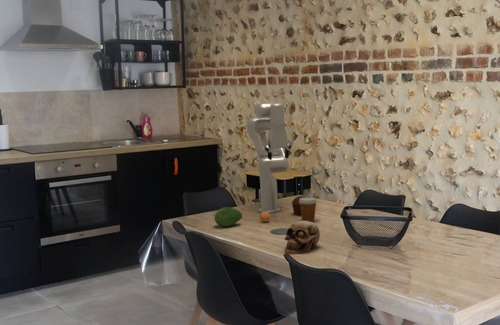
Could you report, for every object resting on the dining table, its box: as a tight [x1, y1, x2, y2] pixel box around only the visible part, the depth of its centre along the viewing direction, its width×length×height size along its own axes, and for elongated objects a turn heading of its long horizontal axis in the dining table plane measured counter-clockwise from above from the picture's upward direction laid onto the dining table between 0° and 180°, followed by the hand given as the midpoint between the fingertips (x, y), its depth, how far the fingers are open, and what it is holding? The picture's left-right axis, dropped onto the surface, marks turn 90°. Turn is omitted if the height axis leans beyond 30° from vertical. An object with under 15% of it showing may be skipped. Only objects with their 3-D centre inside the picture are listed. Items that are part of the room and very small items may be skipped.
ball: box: [259, 212, 271, 223], centre depth 336 cm, size 6×6×6 cm
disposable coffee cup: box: [299, 196, 318, 223], centre depth 334 cm, size 10×10×12 cm
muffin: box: [291, 195, 306, 217], centre depth 351 cm, size 12×11×10 cm
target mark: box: [269, 227, 289, 236], centre depth 314 cm, size 12×12×1 cm
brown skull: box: [284, 220, 321, 255], centre depth 281 cm, size 16×17×13 cm
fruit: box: [214, 206, 243, 228], centre depth 330 cm, size 15×10×10 cm, turn 115°
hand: (278, 158), depth 337 cm, fingers open, 9 cm apart
